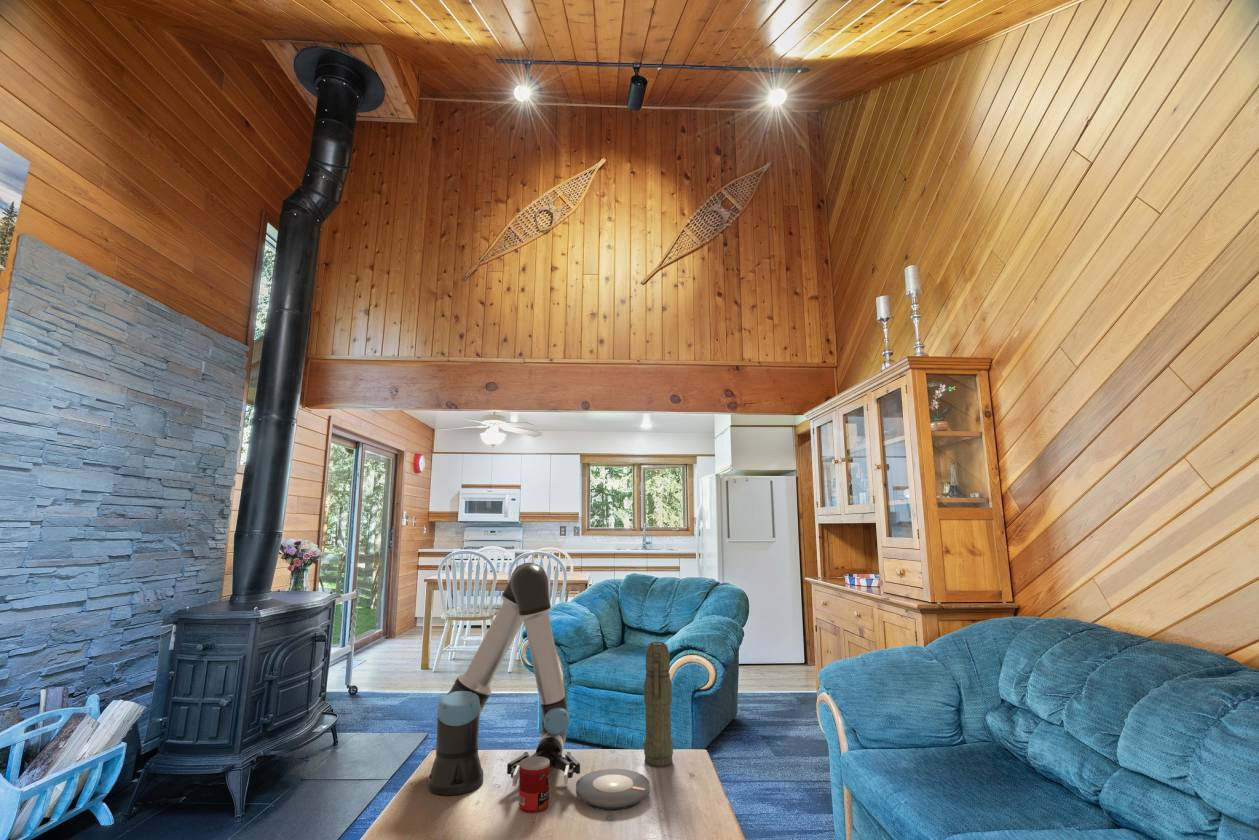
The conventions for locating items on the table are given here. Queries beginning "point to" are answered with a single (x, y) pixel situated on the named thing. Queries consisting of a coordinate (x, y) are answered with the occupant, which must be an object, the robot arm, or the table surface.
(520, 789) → the canned food
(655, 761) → the olive brown statue
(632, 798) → the turntable
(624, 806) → the turntable base
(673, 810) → the table surface
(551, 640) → the robot arm
